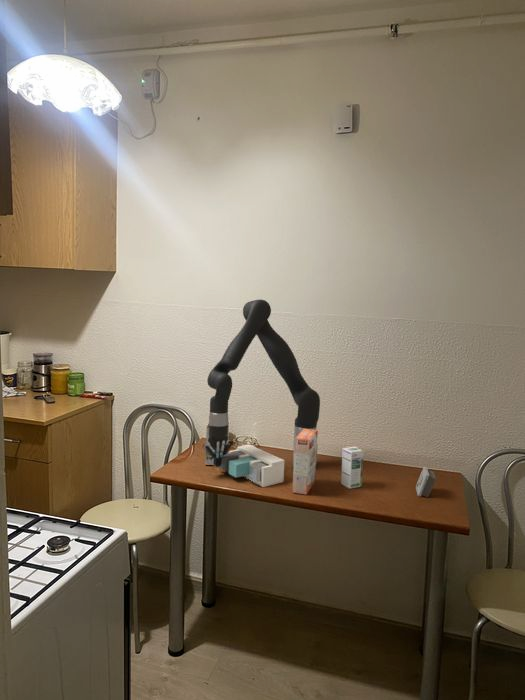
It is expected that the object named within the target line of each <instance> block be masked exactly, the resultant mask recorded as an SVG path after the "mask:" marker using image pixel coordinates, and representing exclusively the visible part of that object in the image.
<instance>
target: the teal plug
mask: <svg viewBox="0 0 525 700" xmlns="http://www.w3.org/2000/svg"><path fill="white" fill-rule="evenodd" d="M253 460H256V459H254V458H252V457H246V458H241V459H236V460H232V461H229V471H228V475H230V476H232V477H234V478H240V477H243V476H245V475H249V465H250V461H253Z"/></svg>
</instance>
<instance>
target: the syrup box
mask: <svg viewBox="0 0 525 700" xmlns="http://www.w3.org/2000/svg"><path fill="white" fill-rule="evenodd" d="M341 455H342V456H341V457H342V458H341V477H340V478H341V480H340V484H341V485H342V486H344V487H345V488H348V489H356V488H361V487H362V486H363V485H362V484H363V468H364V450H363V449H362V448H360V447H357V446H350V447H343V448H342V454H341Z"/></svg>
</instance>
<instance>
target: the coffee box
mask: <svg viewBox="0 0 525 700" xmlns="http://www.w3.org/2000/svg"><path fill="white" fill-rule="evenodd" d="M206 426H207V427H206V431H205V432H206V433H205V434H206V435H205V436H206V439H205V440H206V442H205V445H206V444H207V443H208V439H209V423H208V424H207V425H206ZM210 447H211V446H210ZM210 449H211V450H212V447H211V448H210ZM212 452H213V451H212ZM205 464H213V465H214V457H212V456H210V455H209V454H208V453H207V452H206V451H205Z"/></svg>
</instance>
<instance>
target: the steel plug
mask: <svg viewBox="0 0 525 700" xmlns="http://www.w3.org/2000/svg"><path fill="white" fill-rule="evenodd" d="M264 466H269V464H266V463H264V462H260V463H255V464H251V465H249V475H248V478H250V479H252V480H254V481H256V482H258V481H261V469H262V467H264Z"/></svg>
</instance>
